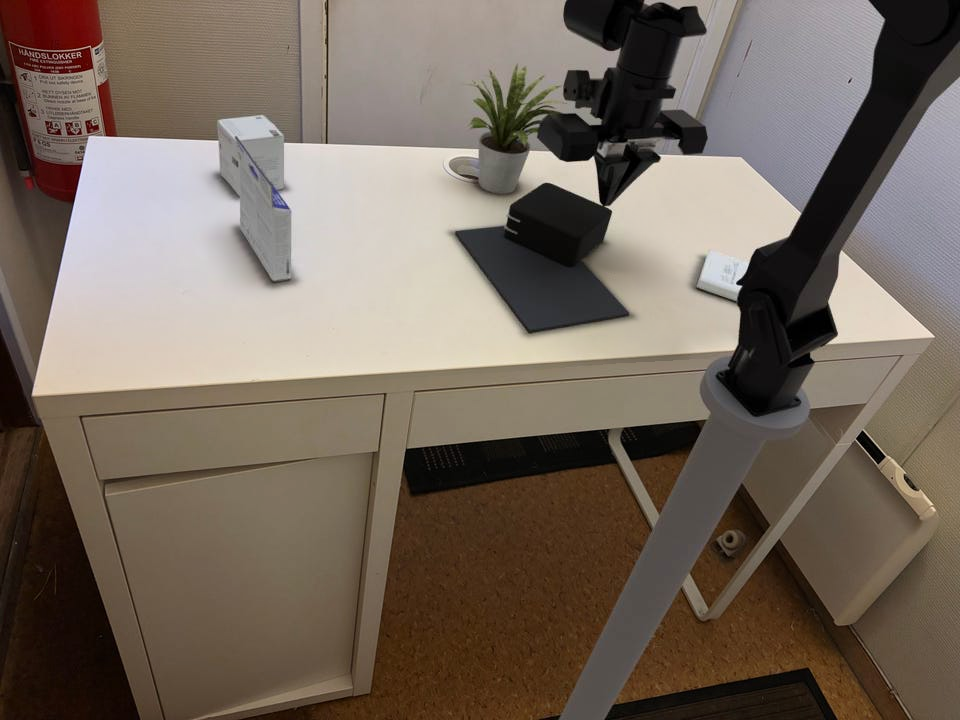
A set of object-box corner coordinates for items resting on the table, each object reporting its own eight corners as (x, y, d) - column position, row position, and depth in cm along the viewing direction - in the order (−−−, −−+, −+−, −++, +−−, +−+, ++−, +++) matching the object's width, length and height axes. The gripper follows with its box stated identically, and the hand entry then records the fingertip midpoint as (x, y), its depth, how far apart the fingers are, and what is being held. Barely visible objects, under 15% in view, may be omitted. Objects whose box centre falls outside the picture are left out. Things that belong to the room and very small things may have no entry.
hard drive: (797, 324, 89) (695, 288, 92) (800, 290, 95) (705, 258, 98) (802, 313, 88) (700, 277, 91) (806, 279, 94) (709, 247, 97)
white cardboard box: (219, 175, 95) (215, 119, 90) (265, 167, 98) (263, 113, 93) (239, 197, 91) (236, 140, 87) (286, 189, 95) (285, 133, 90)
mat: (628, 315, 85) (629, 313, 85) (528, 333, 80) (529, 330, 80) (545, 224, 98) (546, 221, 98) (454, 233, 93) (455, 230, 93)
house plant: (483, 223, 96) (506, 98, 85) (421, 174, 103) (435, 53, 93) (563, 201, 104) (593, 84, 93) (500, 157, 111) (521, 44, 101)
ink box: (294, 280, 80) (294, 182, 73) (273, 284, 79) (270, 185, 72) (259, 225, 87) (255, 131, 80) (239, 228, 86) (233, 133, 79)
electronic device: (615, 210, 94) (546, 180, 98) (580, 239, 87) (507, 206, 91) (606, 239, 97) (539, 209, 100) (571, 269, 90) (501, 236, 93)
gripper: (671, 40, 85) (632, 166, 95) (528, 38, 78) (502, 176, 88) (733, 79, 78) (684, 211, 88) (581, 81, 71) (546, 225, 81)
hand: (604, 204), depth 86 cm, fingers closed
